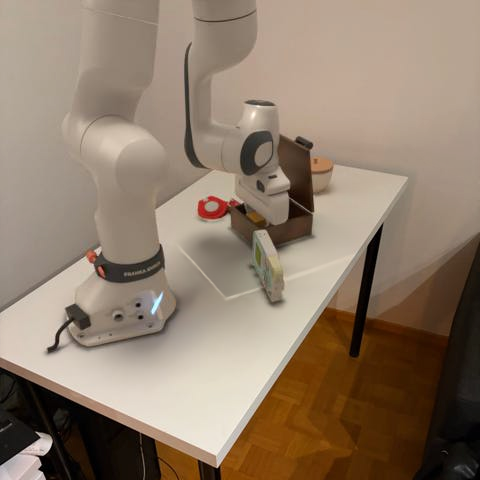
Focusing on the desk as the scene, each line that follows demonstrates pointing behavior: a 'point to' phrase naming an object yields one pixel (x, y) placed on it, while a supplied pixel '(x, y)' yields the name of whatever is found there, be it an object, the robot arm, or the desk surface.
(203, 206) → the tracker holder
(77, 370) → the desk surface
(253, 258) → the handheld gaming console
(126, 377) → the desk surface
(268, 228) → the chest
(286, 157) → the lid
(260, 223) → the block
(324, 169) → the trinket box
